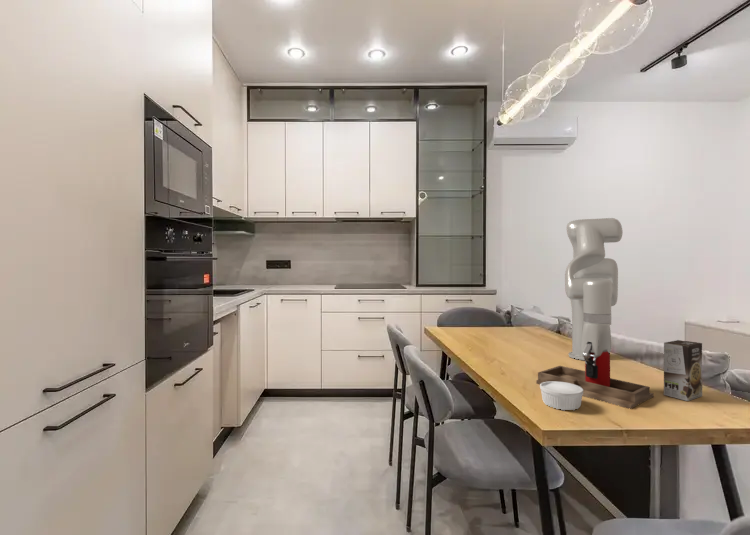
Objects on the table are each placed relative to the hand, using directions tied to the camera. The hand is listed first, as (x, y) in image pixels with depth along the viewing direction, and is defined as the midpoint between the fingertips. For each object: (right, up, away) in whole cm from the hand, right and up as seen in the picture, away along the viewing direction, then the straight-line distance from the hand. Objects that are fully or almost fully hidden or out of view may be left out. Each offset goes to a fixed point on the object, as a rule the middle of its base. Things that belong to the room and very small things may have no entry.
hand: (597, 374), depth 117 cm
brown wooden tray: (-1, -5, +1) cm, 5 cm away
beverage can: (0, -4, 0) cm, 4 cm away
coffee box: (+23, -5, -5) cm, 24 cm away
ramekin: (-17, -6, -11) cm, 21 cm away
